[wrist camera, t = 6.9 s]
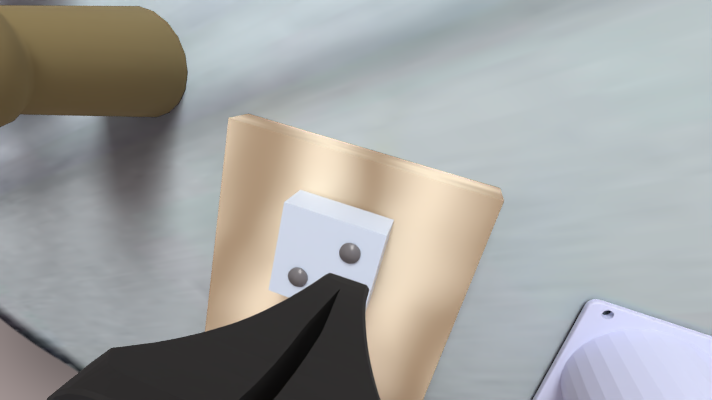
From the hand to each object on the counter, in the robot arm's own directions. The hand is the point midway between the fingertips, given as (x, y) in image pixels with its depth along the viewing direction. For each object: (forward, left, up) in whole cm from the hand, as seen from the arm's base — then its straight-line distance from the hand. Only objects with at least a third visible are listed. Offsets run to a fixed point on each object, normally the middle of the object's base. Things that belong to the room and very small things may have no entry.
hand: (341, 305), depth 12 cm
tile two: (+2, +3, -8) cm, 8 cm away
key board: (+2, +11, -10) cm, 15 cm away
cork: (+16, -4, -10) cm, 19 cm away
